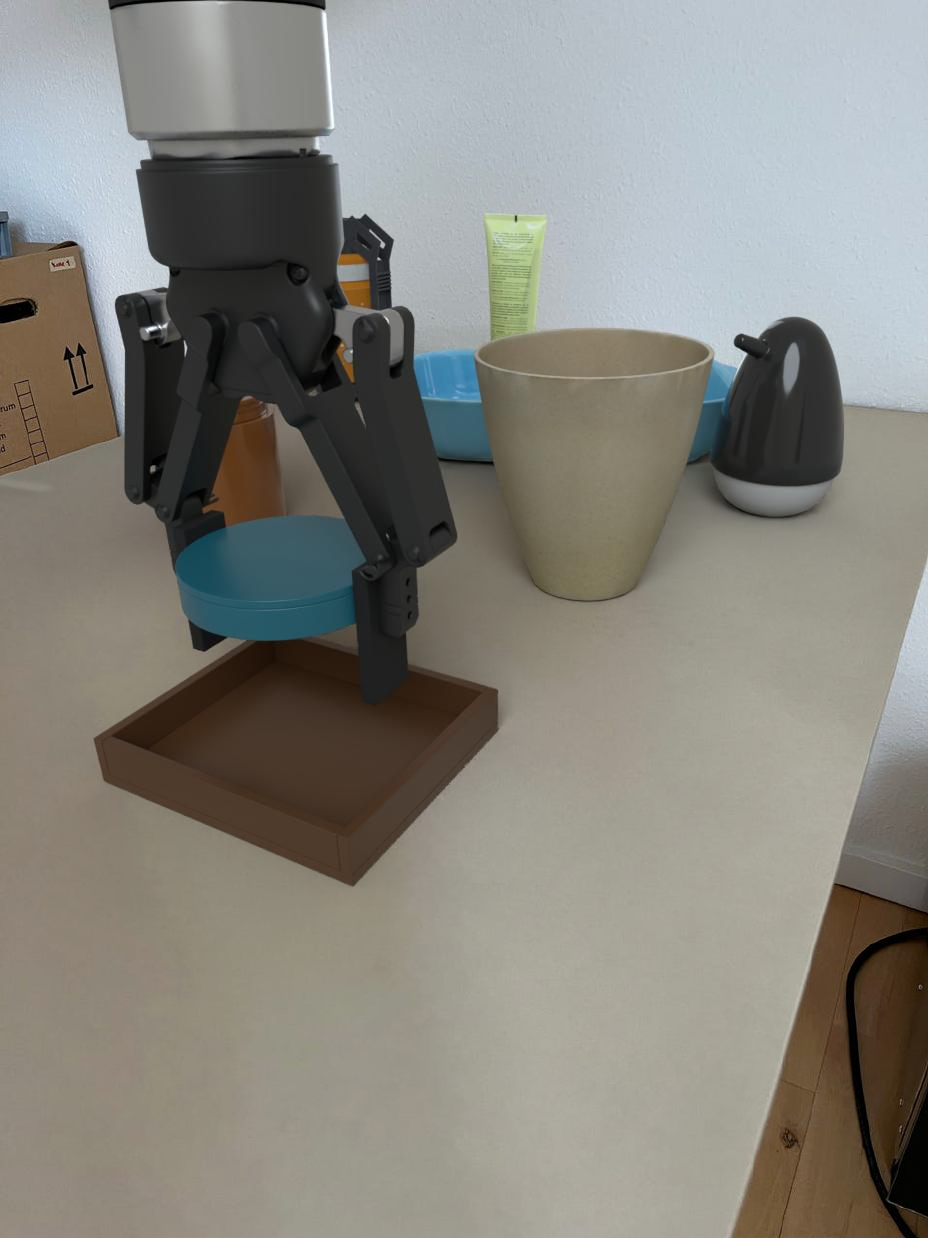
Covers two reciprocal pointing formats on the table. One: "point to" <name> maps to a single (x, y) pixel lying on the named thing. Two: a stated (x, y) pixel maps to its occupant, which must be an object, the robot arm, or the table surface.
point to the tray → (300, 750)
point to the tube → (513, 271)
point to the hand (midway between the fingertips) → (297, 662)
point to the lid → (271, 578)
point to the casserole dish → (460, 412)
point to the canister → (364, 271)
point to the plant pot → (590, 446)
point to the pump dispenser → (780, 421)
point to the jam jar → (250, 467)
